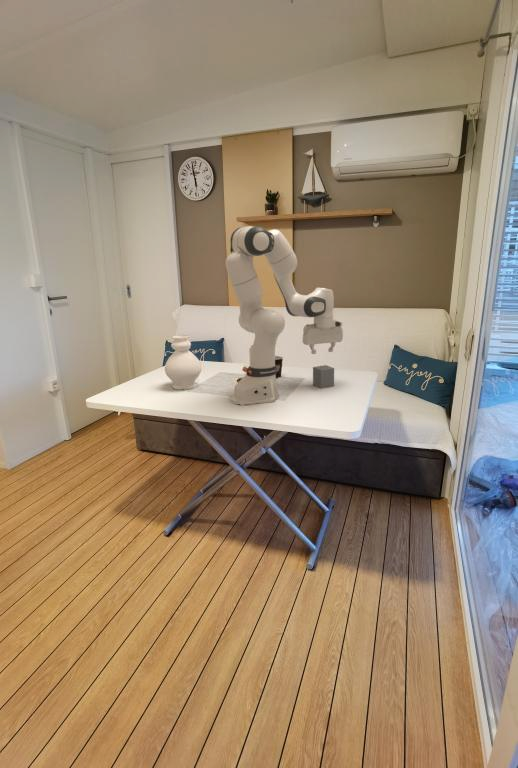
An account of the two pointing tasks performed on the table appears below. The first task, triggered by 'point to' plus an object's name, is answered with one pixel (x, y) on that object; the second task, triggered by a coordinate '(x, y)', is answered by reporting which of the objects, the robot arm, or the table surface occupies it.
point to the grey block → (323, 376)
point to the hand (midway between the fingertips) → (322, 352)
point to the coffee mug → (278, 365)
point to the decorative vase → (182, 364)
